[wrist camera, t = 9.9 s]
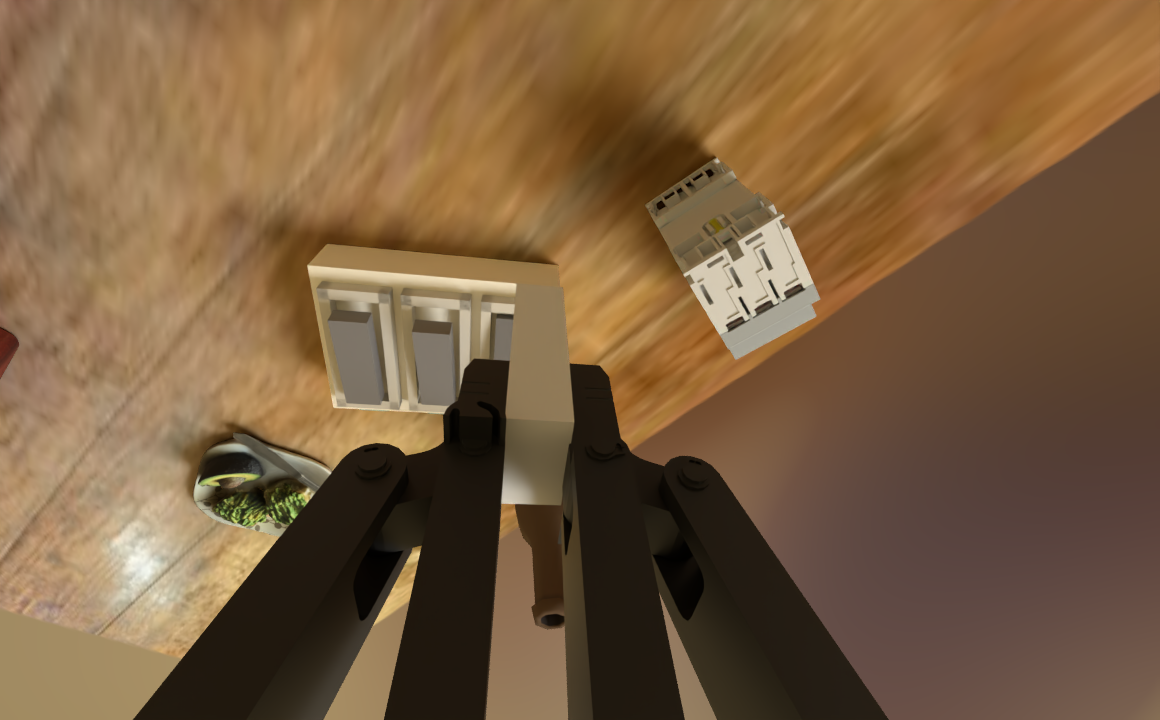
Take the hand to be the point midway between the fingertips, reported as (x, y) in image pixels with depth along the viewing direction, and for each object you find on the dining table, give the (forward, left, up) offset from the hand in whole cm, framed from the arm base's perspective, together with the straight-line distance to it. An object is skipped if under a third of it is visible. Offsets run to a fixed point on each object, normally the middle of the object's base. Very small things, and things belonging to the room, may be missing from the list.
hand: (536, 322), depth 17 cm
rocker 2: (+20, -8, -26) cm, 34 cm away
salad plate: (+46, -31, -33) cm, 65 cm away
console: (+20, -8, -32) cm, 39 cm away
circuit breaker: (+8, +18, -33) cm, 38 cm away
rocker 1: (+20, -15, -26) cm, 36 cm away
